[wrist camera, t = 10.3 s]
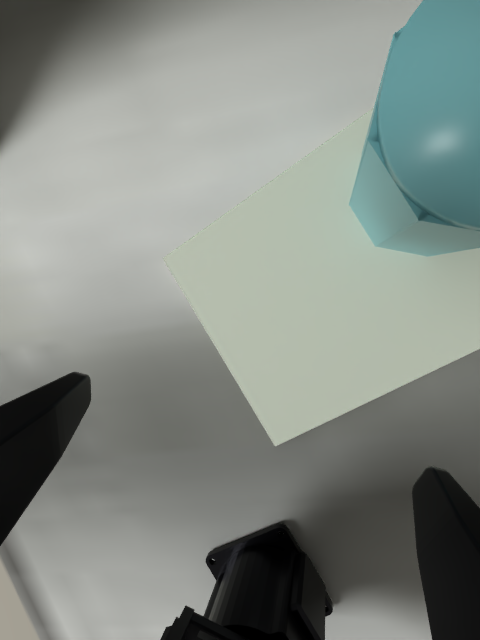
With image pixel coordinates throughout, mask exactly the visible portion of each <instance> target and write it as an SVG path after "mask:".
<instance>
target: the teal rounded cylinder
mask: <svg viewBox="0 0 480 640" xmlns="http://www.w3.org/2000/svg"><path fill="white" fill-rule="evenodd" d="M349 206H350V207H351V209H352V210H353V212H354V214H355V215H356V217H357V218H358V220H359V221H360V223H361V225H362V226H363V228H364V229H365V231H366V233H367V234H368V236H369V237H370V239H371V241H372V242H373V244H374V245H375V247H381V248H386V249H391V250H396V251H401V252H407V253H412V254H417V255H422V256H426V257H428V256H434V255H440V254H446V253H452V252H458V251H463V250H469V249H475V248H480V0H423V1H422V3H421V4H420V5H419V7H418V8H417V9H416V11H415V12H414V13H413V15H412V16H411V17H410V19H409V20H408V22H407V24H406V25H405V26H404V27H403V28H401V29H400V30H399V31H398V32H395V34H394V35H393V39H392V42H391V46H390V50H389V54H388V57H387V61H386V65H385V69H384V72H383V76H382V80H381V83H380V87H379V91H378V95H377V98H376V102H375V106H374V110H373V113H372V117H371V121H370V124H369V128H368V132H367V136H366V139H365V143H364V147H363V151H362V156H361V160H360V164H359V168H358V172H357V176H356V180H355V183H354V187H353V191H352V194H351V198H350V202H349Z"/></svg>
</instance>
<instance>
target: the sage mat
mask: <svg viewBox="0 0 480 640" xmlns="http://www.w3.org/2000/svg"><path fill="white" fill-rule="evenodd" d="M373 110H374V108H373V109H371V110H370V111H368V112H367V113H366V114H364V115H363V116H361V117H360V118H359V119H357V120H356V121H354V122H353V123H352V124H350V125H349V126H347V127H346V128H345V129H343V130H342V131H340V132H339V133H338V134H336V135H335V136H333V137H332V138H331V139H329V140H328V141H326V142H325V143H324V144H322V145H321V146H319V147H318V148H317V149H315V150H314V151H312V152H311V153H310V154H308V155H307V156H305V157H304V158H303V159H301V160H300V161H298V162H297V163H296V164H294V165H293V166H291V167H290V168H289V169H287V170H286V171H284V172H283V173H282V174H280V175H279V176H277V177H276V178H275V179H273V180H272V181H270V182H269V183H268V184H266V185H265V186H263V187H262V188H261V189H259V190H258V191H256V192H255V193H254V194H252V195H251V196H249V197H248V198H247V199H245V200H244V201H242V202H241V203H240V204H238V205H237V206H235V207H234V208H233V209H231V210H230V211H228V212H227V213H226V214H224V215H223V216H221V217H220V218H219V219H217V220H216V221H214V222H213V223H212V224H210V225H209V226H207V227H206V228H205V229H203V230H202V231H200V232H199V233H198V234H196V235H195V236H193V237H192V238H191V239H189V240H188V241H186V242H185V243H184V244H182V245H181V246H179V247H178V248H177V249H175V250H174V251H172V252H171V253H170V254H168V255H167V256H165V257H164V258H163V260H164V262H165V263H166V265H167V267H168V268H169V270H170V272H171V273H172V275H173V277H174V278H175V280H176V282H177V283H178V285H179V287H180V288H181V290H182V292H183V293H184V295H185V297H186V298H187V300H188V302H189V303H190V305H191V307H192V308H193V310H194V312H195V313H196V315H197V317H198V318H199V320H200V322H201V323H202V325H203V327H204V328H205V330H206V332H207V333H208V335H209V337H210V338H211V340H212V342H213V343H214V345H215V347H216V348H217V350H218V352H219V353H220V355H221V357H222V358H223V360H224V362H225V363H226V365H227V367H228V368H229V370H230V372H231V373H232V375H233V377H234V378H235V380H236V382H237V383H238V385H239V387H240V388H241V390H242V392H243V393H244V395H245V397H246V399H247V400H248V402H249V404H250V405H251V407H252V409H253V410H254V412H255V414H256V415H257V417H258V419H259V420H260V422H261V424H262V425H263V427H264V429H265V430H266V432H267V434H268V435H269V437H270V439H271V440H272V442H273V444H274V445H275V446H277V445H279V444H281V443H283V442H286V441H288V440H290V439H292V438H294V437H296V436H298V435H300V434H302V433H304V432H306V431H309V430H311V429H313V428H315V427H317V426H319V425H321V424H323V423H325V422H327V421H329V420H332V419H334V418H336V417H338V416H340V415H342V414H344V413H346V412H348V411H350V410H353V409H355V408H357V407H359V406H361V405H363V404H365V403H367V402H369V401H371V400H373V399H376V398H378V397H380V396H382V395H384V394H386V393H388V392H390V391H392V390H394V389H396V388H399V387H401V386H403V385H405V384H407V383H409V382H411V381H413V380H415V379H417V378H419V377H422V376H424V375H426V374H428V373H430V372H432V371H434V370H436V369H438V368H440V367H443V366H445V365H447V364H449V363H451V362H453V361H455V360H457V359H459V358H461V357H463V356H466V355H468V354H470V353H472V352H474V351H476V350H478V349H480V248H475V249H469V250H463V251H458V252H452V253H446V254H440V255H434V256H428V257H426V256H422V255H417V254H412V253H407V252H401V251H396V250H391V249H386V248H381V247H375V245H374V244H373V242H372V241H371V239H370V237H369V236H368V234H367V233H366V231H365V229H364V228H363V226H362V225H361V223H360V221H359V220H358V218H357V217H356V215H355V214H354V212H353V210H352V209H351V207H350V206H349V202H350V198H351V194H352V191H353V187H354V183H355V180H356V176H357V172H358V168H359V164H360V160H361V156H362V151H363V147H364V143H365V139H366V136H367V132H368V128H369V124H370V121H371V117H372V113H373Z"/></svg>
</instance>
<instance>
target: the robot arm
mask: <svg viewBox="0 0 480 640" xmlns="http://www.w3.org/2000/svg"><path fill="white" fill-rule="evenodd" d="M90 401H91V381H90V377H89V376H88V375H86V374H82V373H79V372H72V373H70V374H67V375H65V376H63V377H61V378H59V379H57V380H55V381H53V382H50V383H48V384H46V385H44V386H42V387H40V388H38V389H35V390H33V391H31V392H29V393H27V394H25V395H23V396H20V397H18V398H16V399H14V400H12V401H10V402H8V403H5V404H3V405H1V406H0V546H1V544H2V543H3V542H4V540H5V539H6V537H7V536H8V534H9V533H10V531H11V530H12V528H13V527H14V525H15V524H16V523H17V521H18V520H19V518H20V517H21V515H22V514H23V512H24V511H25V509H26V508H27V507H28V505H29V504H30V502H31V501H32V499H33V498H34V496H35V495H36V493H37V492H38V490H39V489H40V488H41V486H42V485H43V483H44V482H45V480H46V479H47V477H48V476H49V474H50V473H51V471H52V470H53V469H54V467H55V466H56V464H57V463H58V461H59V459H60V458H61V456H62V455H63V453H64V451H65V449H66V448H67V446H68V444H69V442H70V440H71V438H72V436H73V435H74V433H75V431H76V429H77V427H78V425H79V423H80V422H81V420H82V418H83V416H84V414H85V412H86V410H87V409H88V407H89V404H90ZM412 497H413V510H414V523H415V536H416V548H417V557H418V563H419V569H420V574H421V580H422V585H423V591H424V596H425V602H426V607H427V613H428V618H429V624H430V629H431V635H432V640H480V508H479V507H478V506H477V505H476V503H475V502H474V501H473V500H472V499H471V498H470V497H469V495H468V494H467V493H466V492H465V491H464V490H463V489H462V487H461V486H460V485H459V484H458V483H457V482H456V481H455V479H454V478H453V477H452V476H451V475H450V474H449V473H448V472H447V471H446V470H444V469H440V468H436V467H433V466H429V467H427V468H426V469H425V470H424V472H423V473H422V474H421V476H420V477H419V479H418V480H417V481H416V483H415V484H414V486H413V491H412ZM278 531H281V532H283V533H284V534H280V533H279V532H278ZM212 559H214V560H215V561H214V560H212ZM206 563H207V565H208V567H209V569H210V570H211V572H212V574H213V576H214V577H215V579H216V584H215V587H214V589H213V592H212V595H211V597H210V600H209V603H208V606H207V608H206V611H205V614H204V616H201V615H199V614H197V613H195V612H194V609H192V608H190V607H188V606H185V608H184V610H183V612H182V614H181V616H180V618H178V617H176V619H175V621H174V623H173V625H172V626H169V627H166V629H165V631H164V633H163V635H162V638H161V640H325V616H328V615H330V614H331V613H332V610H333V605H332V601H331V599H330V598H329V596H328V594H327V593H326V591H325V584H324V583H323V581H322V579H321V578H320V576H319V574H318V572H317V571H316V569H315V567H314V566H313V564H312V562H311V561H310V559H309V557H308V556H307V554H306V553H304V552H303V551H301V549H300V547H299V546H298V544H297V542H296V541H295V539H294V537H293V536H292V534H291V532H290V531H289V529H288V528H287V526H286V525H284V524H276V525H274V526H271V527H269V528H267V529H264V530H262V531H259V532H257V533H254V534H252V535H249V536H247V537H245V538H242V539H240V540H237V541H235V542H232V543H230V544H227V545H225V546H223V547H220V548H218V549H215V550H213V551H210V552H209V553H208V555H207V558H206ZM325 605H326V606H327V607H325Z"/></svg>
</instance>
